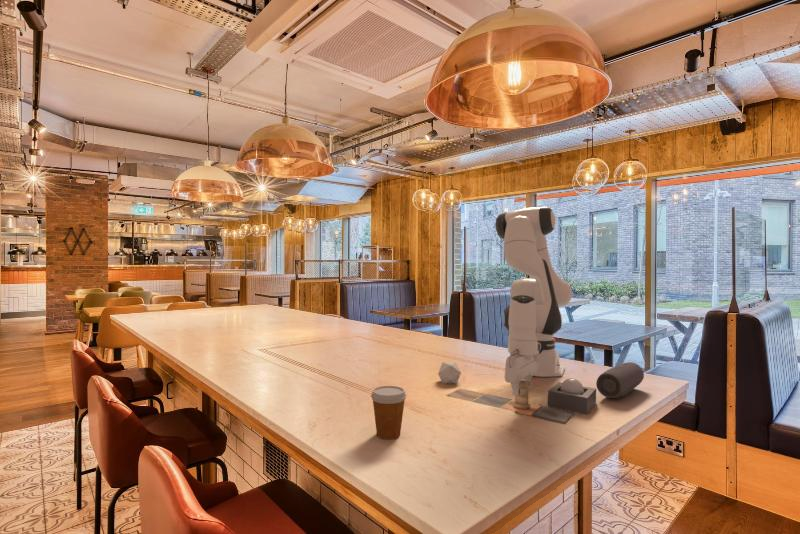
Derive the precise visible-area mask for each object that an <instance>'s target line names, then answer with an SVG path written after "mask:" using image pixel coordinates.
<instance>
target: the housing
mask: <svg viewBox="0 0 800 534" xmlns="http://www.w3.org/2000/svg"><path fill="white" fill-rule="evenodd" d="M562 383H563V382H557V383H556V384H555V385H553V386H552V387H551V388H549V389H548V390H547V407H552V408H557V409H561V410H566V411H571V412H574V413H580V414H584V415H588V414H589V413H590V412H591V410H592V409H593V408H594V407H595V406H594V405H597V388H594V387H589V386H584V385H583V389H584V394H583V395H579V394H573V393H568V392H562V391H560V389H561V386H562Z"/></svg>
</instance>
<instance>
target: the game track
mask: <svg viewBox="0 0 800 534" xmlns="http://www.w3.org/2000/svg"><path fill="white" fill-rule="evenodd" d="M445 396H447V397H451V398H454V399H460V400H462V401H463V400H464V401H468V402H473V403H478V404H483V405H485V406H486V405H487V406H491V407H496V408H498V409H499V408H500V409H504V410H509V411H514V413H516V414H519V415H525V416H529V417H534V418H539V419H543V420H547V421H552V422H557V423H560V424H565V425H566V423H567V422H568V421H569V420H570V419H571V418H572V417H573V416H574V415H575V412H574V411H569V410H564V409H559V408H554V407H550V406H548V405H547V406H545V405H542V404H536V403H531V402H529V403H530V408H528V409H520V408H516V407H514V406H513V402H514V401H515V399H512V398H509V397H503V396H497V395H494V394H493V395H492V394H488V393H483V392H479V391H475V390H468V389H465V388H464V389H463V388H459V389H456V390H455V391H452V392H450V393H448V394H446V395H445Z"/></svg>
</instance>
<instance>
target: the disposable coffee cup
mask: <svg viewBox="0 0 800 534" xmlns="http://www.w3.org/2000/svg"><path fill="white" fill-rule="evenodd" d="M370 397H371V399H372V404H373V412H374V421H375V423H374V424H375V431H376V436H377V437H378V438H379V439H381V440H394V439H398V438H399V437H400V436H401V430H402V423H403V416H404V409H405V400H406V399H407V393H406V390H405V389H404V388H403V387H400V386H397V385H382V386H377V387H375V388H373V389H372V393H371V394H370Z"/></svg>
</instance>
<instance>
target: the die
mask: <svg viewBox="0 0 800 534" xmlns="http://www.w3.org/2000/svg"><path fill="white" fill-rule="evenodd" d="M461 374H462V371H461V369H460V367H459V366H458V364H457V363H456V362H454V361H453V362H452V361H449V362H448V361H444V362H441V365H440V367H439V369H438V373H437V375H438V377H439V379H440V381H441V383H442V384H458V382H459V379H460V377H461Z"/></svg>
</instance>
